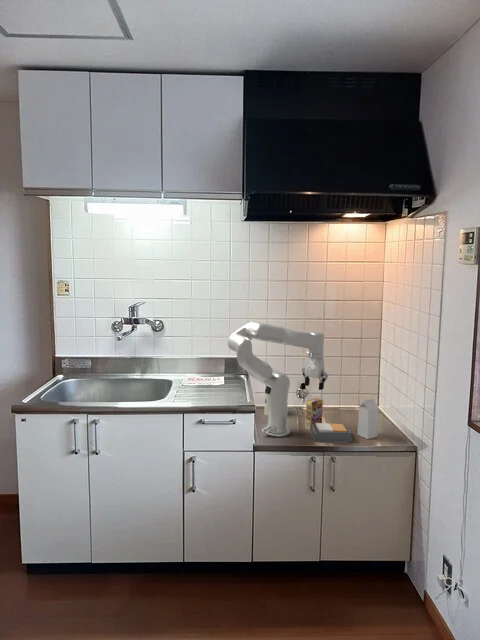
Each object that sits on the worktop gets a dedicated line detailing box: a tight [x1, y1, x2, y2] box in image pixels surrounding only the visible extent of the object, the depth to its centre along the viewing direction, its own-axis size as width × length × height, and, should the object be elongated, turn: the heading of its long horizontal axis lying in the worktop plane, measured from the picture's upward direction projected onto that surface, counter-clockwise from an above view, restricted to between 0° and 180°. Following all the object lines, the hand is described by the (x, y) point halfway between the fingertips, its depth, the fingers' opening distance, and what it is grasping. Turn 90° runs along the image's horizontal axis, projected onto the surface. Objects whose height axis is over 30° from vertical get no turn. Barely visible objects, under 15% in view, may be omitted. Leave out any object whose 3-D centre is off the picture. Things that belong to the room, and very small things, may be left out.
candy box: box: [304, 397, 324, 431], centre depth 256 cm, size 9×4×15 cm, turn 128°
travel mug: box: [263, 385, 271, 417], centre depth 276 cm, size 8×8×18 cm
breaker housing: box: [309, 423, 353, 443], centre depth 243 cm, size 19×13×4 cm
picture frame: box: [316, 422, 347, 432], centre depth 243 cm, size 14×10×2 cm
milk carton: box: [357, 398, 380, 440], centre depth 244 cm, size 7×7×19 cm
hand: (313, 387), depth 254 cm, fingers open, 9 cm apart
